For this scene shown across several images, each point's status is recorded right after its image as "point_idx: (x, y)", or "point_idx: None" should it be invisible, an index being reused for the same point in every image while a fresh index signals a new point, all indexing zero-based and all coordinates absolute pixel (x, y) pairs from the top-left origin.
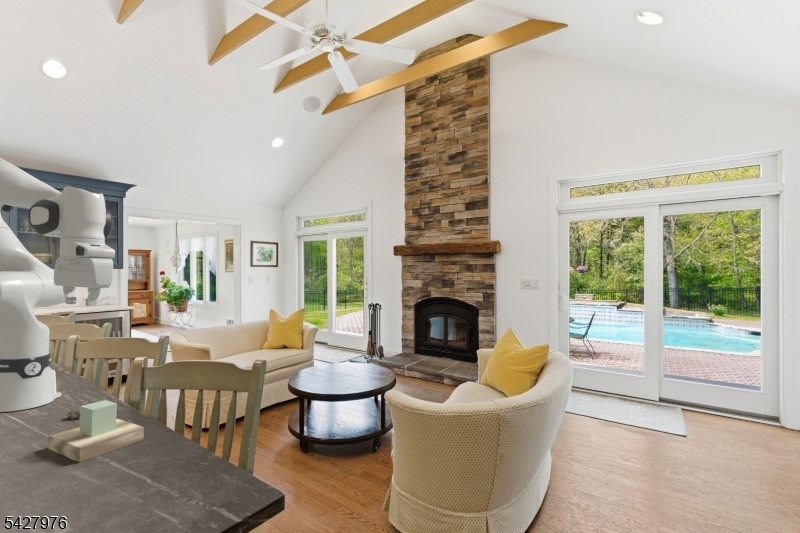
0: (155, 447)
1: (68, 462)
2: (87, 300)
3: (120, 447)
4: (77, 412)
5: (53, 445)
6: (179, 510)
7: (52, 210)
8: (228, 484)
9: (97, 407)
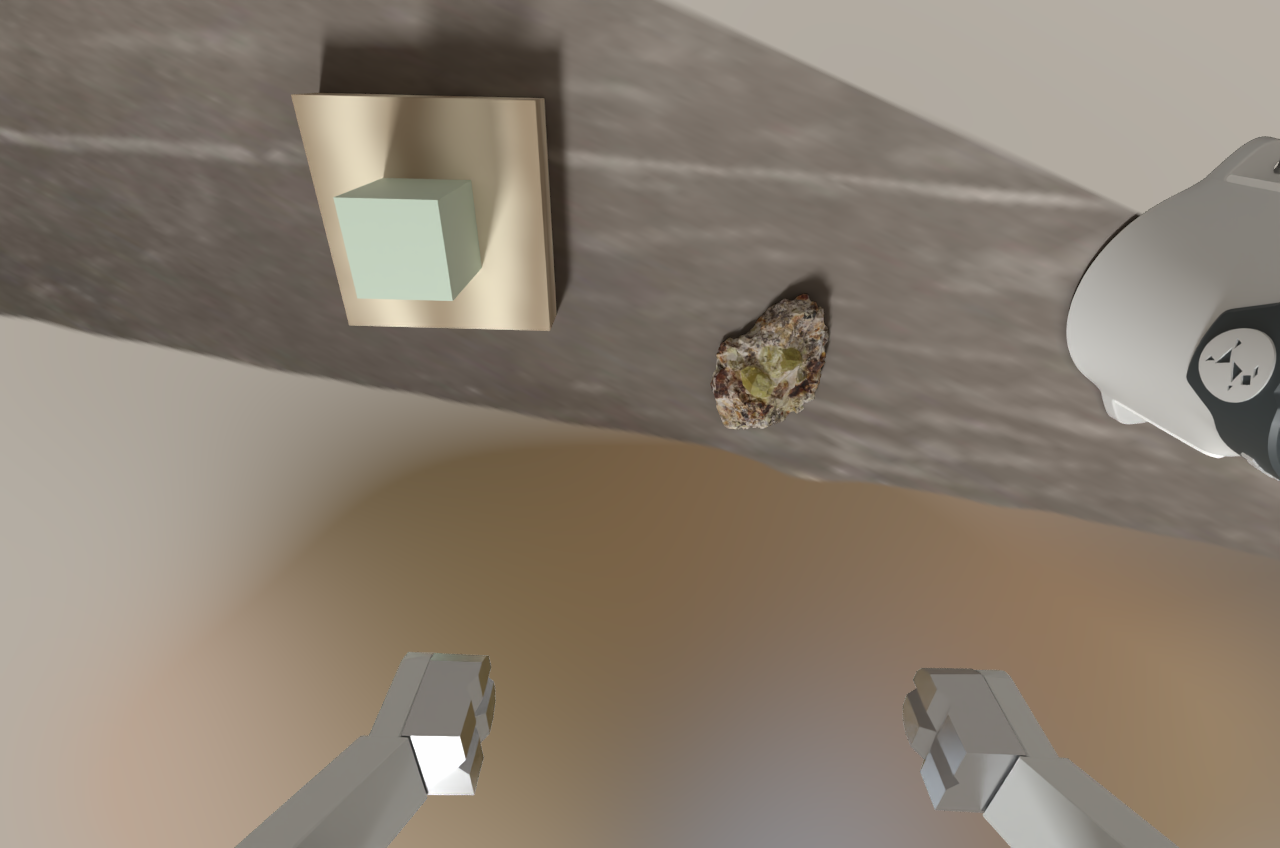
0: (273, 291)
1: (351, 73)
2: (410, 716)
3: None
4: (780, 319)
5: (502, 98)
6: None
7: None
8: None
9: (355, 226)
